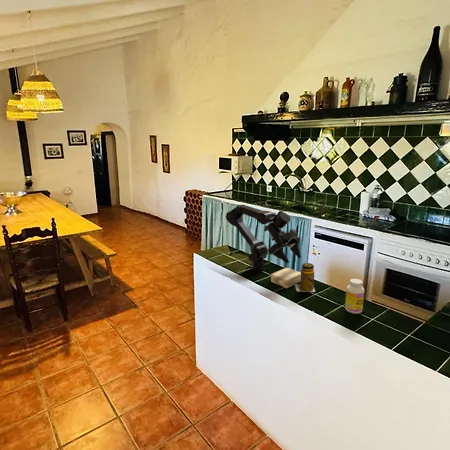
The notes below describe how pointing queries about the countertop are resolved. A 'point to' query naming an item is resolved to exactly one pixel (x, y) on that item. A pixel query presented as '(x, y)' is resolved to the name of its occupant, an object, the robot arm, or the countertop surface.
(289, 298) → the countertop surface
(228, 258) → the countertop surface
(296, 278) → the wooden block
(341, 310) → the countertop surface
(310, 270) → the condiment
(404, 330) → the countertop surface
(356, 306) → the supplement bottle
